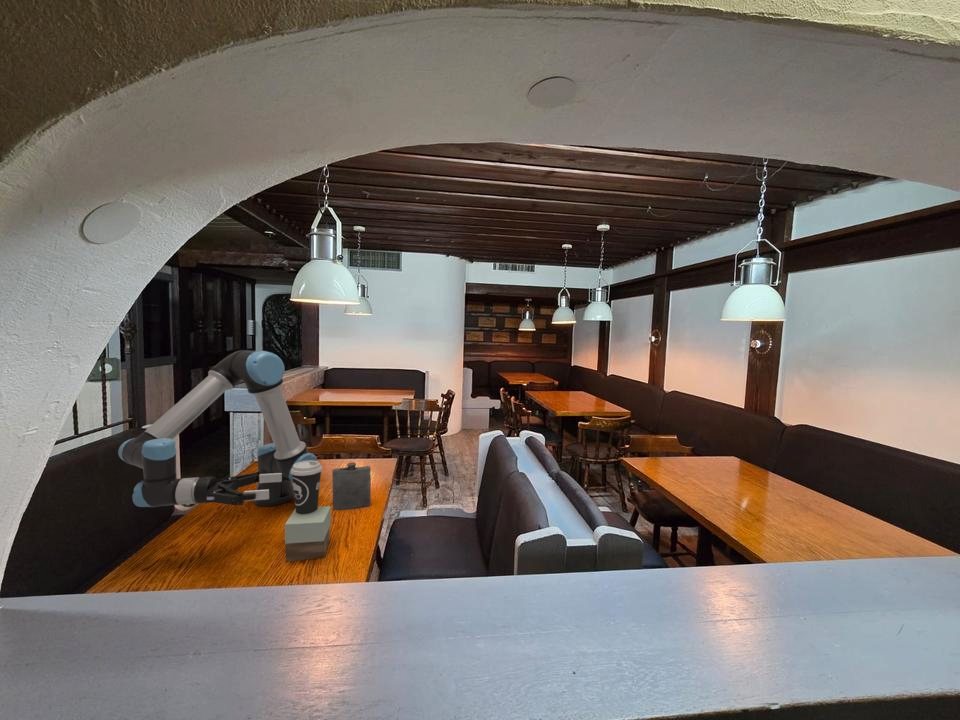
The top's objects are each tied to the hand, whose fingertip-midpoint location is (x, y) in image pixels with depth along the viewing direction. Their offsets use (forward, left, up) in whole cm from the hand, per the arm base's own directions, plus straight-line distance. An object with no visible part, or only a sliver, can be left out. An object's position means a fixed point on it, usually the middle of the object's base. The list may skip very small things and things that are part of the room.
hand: (275, 485), depth 122 cm
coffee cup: (-3, +8, -10) cm, 13 cm away
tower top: (+1, +10, -16) cm, 19 cm away
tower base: (+1, +10, -22) cm, 24 cm away
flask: (-28, +20, -22) cm, 41 cm away
